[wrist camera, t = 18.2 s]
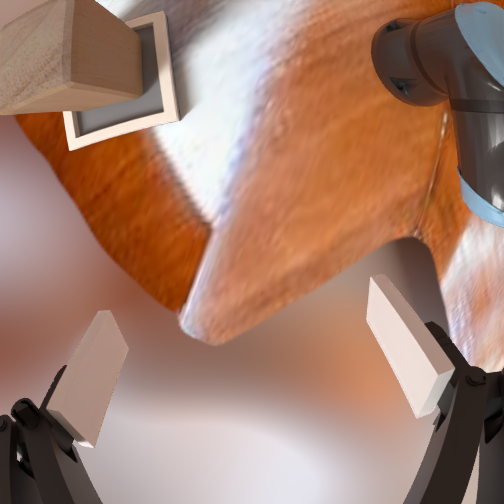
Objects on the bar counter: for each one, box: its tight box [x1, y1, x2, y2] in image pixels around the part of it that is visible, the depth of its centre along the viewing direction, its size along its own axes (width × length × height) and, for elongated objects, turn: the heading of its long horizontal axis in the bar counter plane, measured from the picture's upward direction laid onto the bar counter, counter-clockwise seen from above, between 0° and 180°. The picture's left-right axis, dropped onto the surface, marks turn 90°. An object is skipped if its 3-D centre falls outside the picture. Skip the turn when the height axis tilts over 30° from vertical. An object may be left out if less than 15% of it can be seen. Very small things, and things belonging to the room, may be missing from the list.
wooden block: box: [0, 0, 143, 115], centre depth 23 cm, size 10×10×20 cm
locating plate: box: [63, 11, 181, 151], centre depth 32 cm, size 17×17×3 cm
